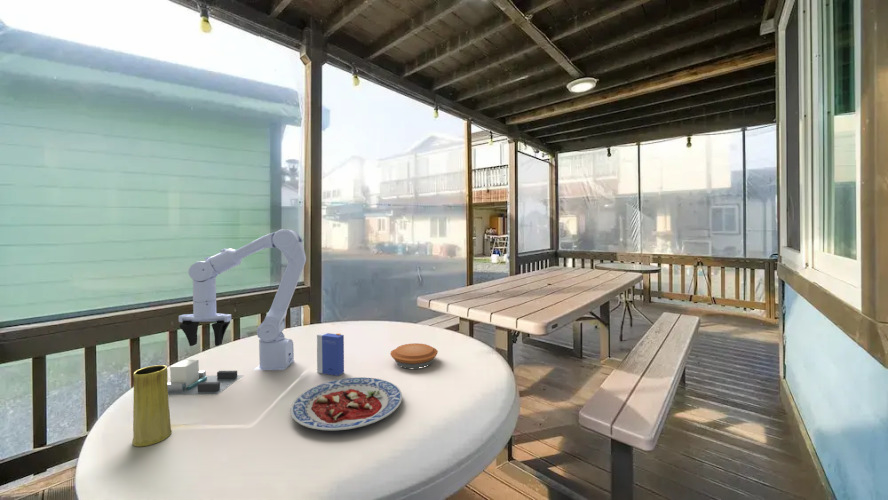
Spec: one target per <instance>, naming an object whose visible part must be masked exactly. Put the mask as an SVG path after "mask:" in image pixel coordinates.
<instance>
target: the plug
mask: <svg viewBox="0 0 888 500" xmlns="http://www.w3.org/2000/svg"><path fill="white" fill-rule="evenodd" d="M199 362H200V361H199V359H183V360H181V361H179V362H177V363H175V364H173V365H171V366H169V371H170V373H169V374H170V378H169V379H170V383H182V382H186V388H187V386H189V385H191V384H192V383H194V382H196V381H198V380H199V371H200V370H199V369H200V368H199Z"/></svg>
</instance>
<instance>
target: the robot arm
mask: <svg viewBox="0 0 888 500" xmlns="http://www.w3.org/2000/svg"><path fill="white" fill-rule="evenodd" d="M274 248H276V249H278V250H279V251H280V252H281V253H282V254H283V255H284V256H285V258H286V260H287V262H288V263H287V265H286V268H285V271H284V272H283V275H282V277H281V281H280V283H279V285H278V288H277V291H276V293H275V296H274V298H273V301H272V304H271V306H270V308H269V311H267V314H266V316H265V317H264V319H263V321H262V322H261V323H260V324H259V325H258V327H257V329H256V335H257V337H258V347H259V348H258V349H259V350H258V352H259V353H258V354H259V359H258V360H259V365H258V366H256V367H255V368H254V369H253V371H284V370H286V369H287V368H288V367H290V365H292V364H293V363H294V362H295V360H294V357H295V356H294V355H295V353H294V351H295V350H294V341H293V339H290V338H286V337H285V333H283V331H284V330H285V329H286V317H287V312H288V308H289V307H290V304H291V300H292V298H293V296H294V293H295V291H296V288H297V285H298V283H299V280H300V277H301V275H302V273H303V270H304V268H305V264H306V262H307V255H306V251H305V248H304V240H303V239H302V237H301V236H300V235H299V234H298V232H297V231H295V230H292V229H285V228H283V229H279V230H277V231H273V232H270V233H268V234H266V235H265V234H264V235H263V236H260V237H258V238H257V239H254V240H252V241H251V242H249V243H247V244H245V245H243V246H241V247H239V248H237V249H234V248H231V247H230V248H222V249H220V250H219V251H220V252H219V253H216V254H214V255H212V256H206V257H205V258H204V261H202V260H201V261H200V260H199V261H196V262H194V263H193V264H191V265H190V266H189V268H188V275H189V277H190V279H192V303H193V305H192V310H193V311H192V313H190V314H189V313H187V314H186V313H185V314H181V315H178V323H181V324H179V328H180V329H181V330H182V332H183V333H184V334H185V337H186V339H187V342H188V344H189V347H193V346H195V345H197V344H198V329H199V324H200V322H208V323H209V322H214V323H211V328H212V330H213V334H214V346H215V347H218V346H221V345H223V340H224V337H225V333H226V331H227V329H228V327H229V326H230V324H231V321H232V314H231V313H230V314H229V313H220V312H219V313H217V285H216V282H217V281H216V278H217V276H218V275H221V274H223V273H225V272H227V271H229V270H231V269H233V268H236V267H238V266H240V265H241V262H242V260H243V259H244V258H247V257H249V256H250V255H253V254H256V253H257V252H261V251H262V250H265V249H274Z"/></svg>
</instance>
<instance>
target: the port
mask: <svg viewBox="0 0 888 500" xmlns="http://www.w3.org/2000/svg"><path fill="white" fill-rule="evenodd" d="M206 373H207V371H206V370H199V380H198V381H196V382H194V383H192V384H191V385H189V386H187V390H190V389H192V388H194V387H195V386H197V385H198V384H199V383H201V382H203V381H205V380H207V377H206V376H207V374H206ZM185 390H186V382H182V383H171V382H168V392H183V391H185Z"/></svg>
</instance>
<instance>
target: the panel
mask: <svg viewBox="0 0 888 500" xmlns="http://www.w3.org/2000/svg"><path fill="white" fill-rule="evenodd" d="M206 377H207V380H205V381H203V382H220V390H219V391H217V392H198V385H197V386H195V387H194V388H192V389H190V390H187V388H186V390H185V391H183V392H168V396H173V395H174V396H185V395H187V396H188V395H193V396H194V395H197V396H198V395H199V396H200V395H211V396H213V395H219V394H220V393H221V392H223V391H224V390H226V389H227V388H228V387H229V386H232V384H234V383H236V382H237V381H238V380H239V379H241V378H243V377H244V375H242V374H241V375H240V374H239V375H238V374H237V378H236V379H217V374H216V375H206Z"/></svg>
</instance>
